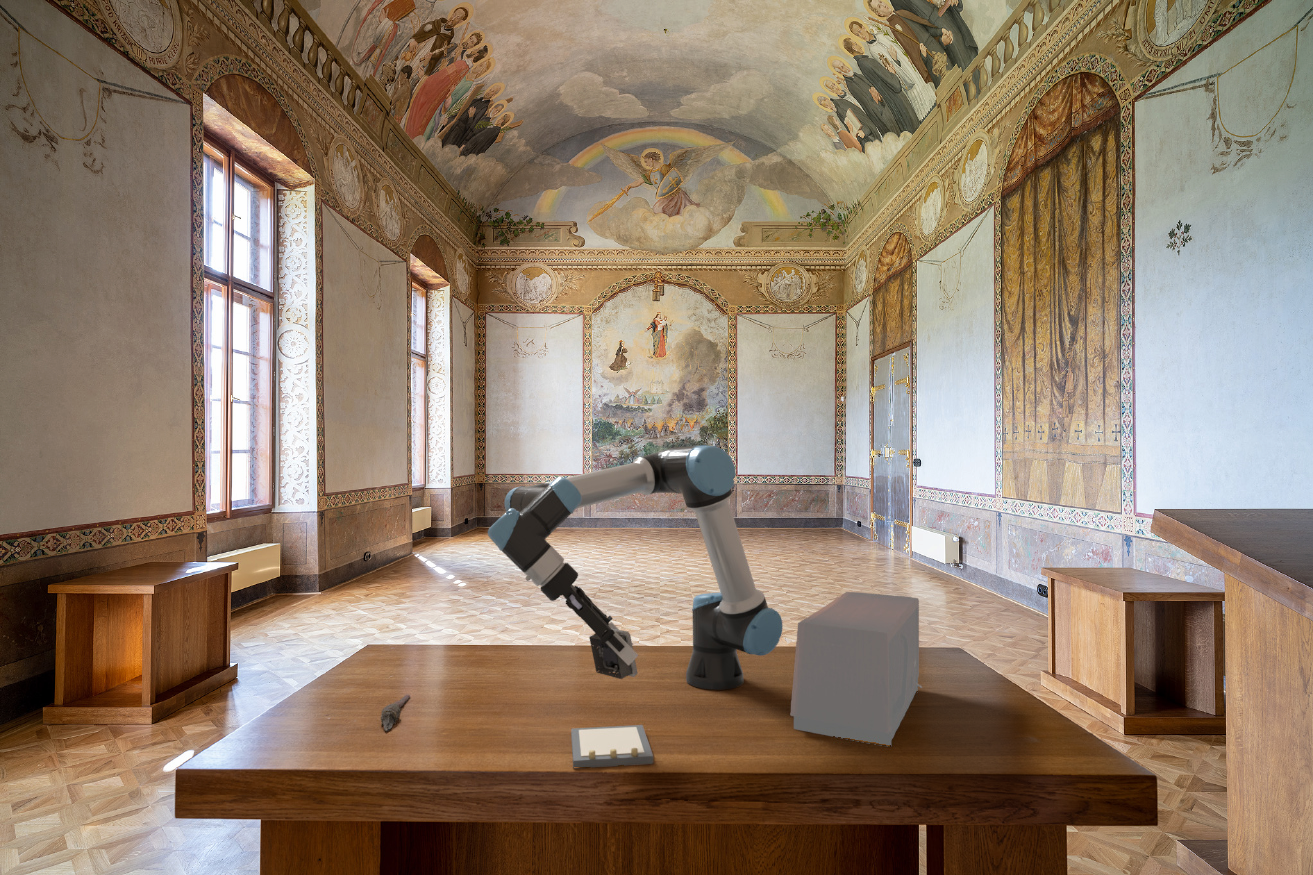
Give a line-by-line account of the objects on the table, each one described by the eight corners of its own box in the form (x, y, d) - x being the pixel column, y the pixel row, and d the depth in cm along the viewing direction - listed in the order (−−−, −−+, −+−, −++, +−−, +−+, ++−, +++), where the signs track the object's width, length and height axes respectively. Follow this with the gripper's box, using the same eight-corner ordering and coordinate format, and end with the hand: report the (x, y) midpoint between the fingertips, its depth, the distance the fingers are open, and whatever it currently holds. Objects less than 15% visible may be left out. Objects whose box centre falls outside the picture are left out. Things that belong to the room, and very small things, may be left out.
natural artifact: (379, 740, 140) (367, 725, 140) (407, 700, 163) (397, 687, 163) (394, 729, 141) (383, 714, 140) (420, 691, 163) (410, 677, 163)
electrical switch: (638, 677, 133) (636, 630, 133) (619, 684, 129) (617, 635, 130) (607, 669, 139) (605, 624, 140) (588, 675, 136) (586, 629, 136)
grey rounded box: (840, 677, 181) (840, 589, 182) (929, 692, 169) (928, 598, 171) (783, 731, 142) (783, 619, 143) (893, 755, 131) (892, 633, 132)
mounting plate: (642, 731, 142) (642, 719, 142) (653, 763, 126) (653, 749, 126) (571, 735, 139) (571, 722, 139) (573, 768, 124) (573, 754, 124)
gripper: (539, 580, 143) (612, 654, 144) (537, 597, 122) (622, 683, 124) (565, 555, 144) (637, 628, 146) (566, 567, 123) (651, 653, 125)
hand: (630, 654), depth 135 cm, fingers closed on electrical switch, 8 cm apart
